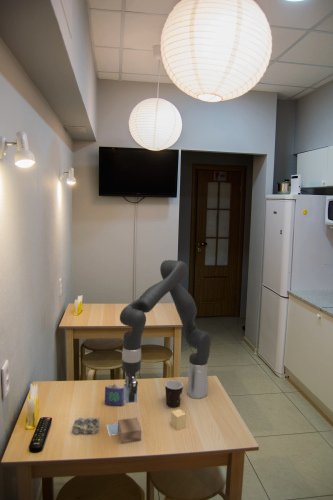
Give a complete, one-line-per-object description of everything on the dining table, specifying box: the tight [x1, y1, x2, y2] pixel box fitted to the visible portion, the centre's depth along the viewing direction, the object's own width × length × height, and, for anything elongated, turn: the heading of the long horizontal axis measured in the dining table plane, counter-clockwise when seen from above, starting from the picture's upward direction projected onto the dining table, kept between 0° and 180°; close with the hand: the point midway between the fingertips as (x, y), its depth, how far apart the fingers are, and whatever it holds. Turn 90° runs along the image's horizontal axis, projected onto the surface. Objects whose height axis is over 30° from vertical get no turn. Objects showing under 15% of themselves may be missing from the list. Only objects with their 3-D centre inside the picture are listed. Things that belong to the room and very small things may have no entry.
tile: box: [106, 422, 119, 436], centre depth 150 cm, size 8×8×1 cm
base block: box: [117, 417, 142, 445], centre depth 146 cm, size 8×8×5 cm
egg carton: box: [72, 417, 100, 436], centre depth 149 cm, size 11×8×4 cm
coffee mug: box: [164, 379, 184, 409], centre depth 170 cm, size 12×9×10 cm
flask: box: [104, 382, 125, 407], centre depth 168 cm, size 9×3×11 cm, turn 87°
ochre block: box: [170, 408, 187, 431], centre depth 154 cm, size 4×4×6 cm
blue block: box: [123, 383, 138, 404], centre depth 144 cm, size 4×4×6 cm
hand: (130, 398), depth 144 cm, fingers closed on blue block, 4 cm apart
